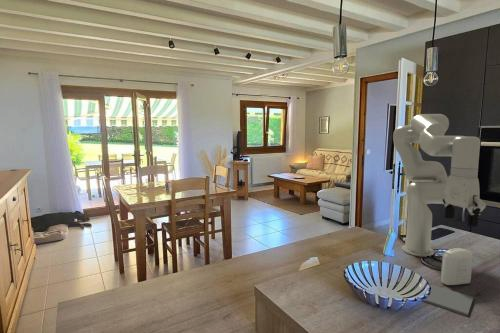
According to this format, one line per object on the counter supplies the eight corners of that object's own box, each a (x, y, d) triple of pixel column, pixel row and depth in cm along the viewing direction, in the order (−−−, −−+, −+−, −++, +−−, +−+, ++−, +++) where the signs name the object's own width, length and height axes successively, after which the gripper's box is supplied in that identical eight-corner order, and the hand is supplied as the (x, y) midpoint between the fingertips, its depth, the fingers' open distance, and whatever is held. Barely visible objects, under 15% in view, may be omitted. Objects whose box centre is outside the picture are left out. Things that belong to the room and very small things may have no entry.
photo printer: (461, 278, 110) (464, 245, 108) (472, 283, 106) (475, 250, 104) (438, 281, 107) (440, 247, 106) (448, 287, 103) (451, 252, 102)
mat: (430, 286, 104) (430, 284, 104) (473, 299, 96) (473, 297, 96) (421, 300, 95) (421, 298, 95) (467, 316, 87) (467, 313, 87)
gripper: (435, 170, 110) (432, 215, 112) (476, 176, 93) (471, 230, 95) (453, 169, 111) (450, 215, 113) (497, 176, 94) (493, 229, 96)
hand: (460, 222), depth 104 cm, fingers open, 9 cm apart
